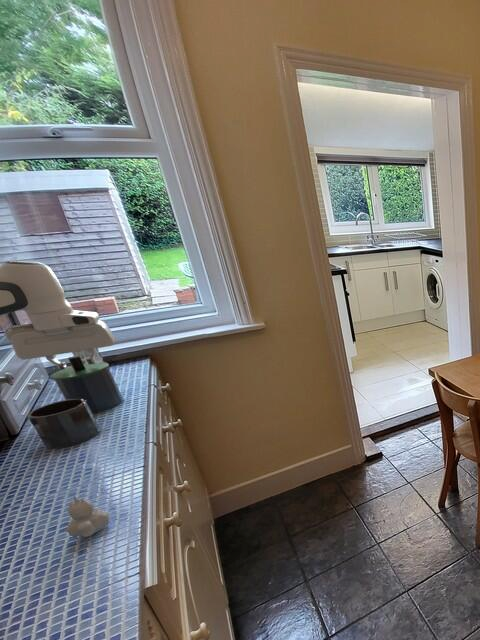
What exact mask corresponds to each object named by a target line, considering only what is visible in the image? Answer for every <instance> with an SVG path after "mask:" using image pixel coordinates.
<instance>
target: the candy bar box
mask: <svg viewBox="0 0 480 640" xmlns="http://www.w3.org/2000/svg"><path fill="white" fill-rule="evenodd" d="M96 350H97V351H96V354H95V359H96V361H100V360H101V361H104V362H105V359H104V358H103V356H102V355H101V353H100V351H99V348H96ZM71 353H72V356H80V358H81V360H82V359H87V358H90V356H91V353H88V351H87V350H82V351H76V352H71ZM85 361H86V362H87V360H85ZM87 363H88V362H87Z"/></svg>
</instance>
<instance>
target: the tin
mask: <svg viewBox="0 0 480 640" xmlns="http://www.w3.org/2000/svg"><path fill="white" fill-rule="evenodd" d="M54 381H55V384H56V385H57V387H58V389H59V390H60V392H61V394H62V396H63V398H64V400H69V399H84V400H85V401H86V403H87V405H88V406H89V408H90V410H91V412H92V414H93V415H94V414H97V413H102V412H105V411H108V410H110V409H113V408H115V407H118V406H119V405H120V404H122V403H123V402H124V397H123V396H122V393H121V391H120V389H119V387H118V385H117V383H116V380H115V378H114V377H113V374H112V373H111V370H110V368H109V367H108V368H106V369H105V370H103V371H100V372H97V373H94V374H91V375H87V376H83V377H79V378H74V379H67V380H54Z"/></svg>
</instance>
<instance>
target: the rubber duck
mask: <svg viewBox="0 0 480 640" xmlns="http://www.w3.org/2000/svg"><path fill="white" fill-rule="evenodd" d="M67 513H68V515H69V516H70V518H71V520H70V521H69V522H68V523H67V525H66V533H68V535H69V536H72V537H73V538H75V537H82V538H87V537H91V536H93V535H94V534H96V533H98V532H100V531H102V530H103V529H105V528H106V526H108V525H109V523H110V514H109V513H108V512H107V511H106V510H102V509H100V508H95V506H94V504H93V503H92V502H91V501H90V500H86V499H84V498H80V500H79V498H77V497H76V496H75V495H73V502H69V504H68V509H67Z"/></svg>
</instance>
